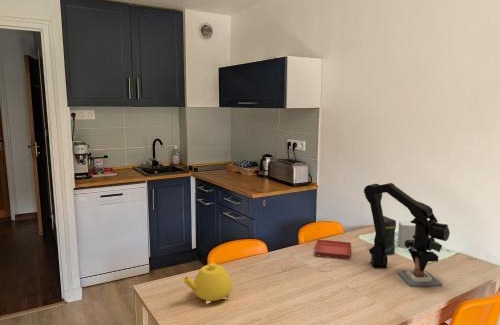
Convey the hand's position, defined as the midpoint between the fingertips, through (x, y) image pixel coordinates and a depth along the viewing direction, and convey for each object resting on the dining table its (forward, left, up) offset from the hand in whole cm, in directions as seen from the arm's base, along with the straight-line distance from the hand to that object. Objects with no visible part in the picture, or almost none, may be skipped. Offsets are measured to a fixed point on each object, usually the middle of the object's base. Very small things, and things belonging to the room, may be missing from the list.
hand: (419, 268), depth 167 cm
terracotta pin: (0, 0, -3) cm, 3 cm away
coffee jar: (-2, +32, -5) cm, 33 cm away
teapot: (-92, -12, -5) cm, 93 cm away
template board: (0, 0, -5) cm, 5 cm away
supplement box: (+13, +40, -5) cm, 43 cm away
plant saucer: (-29, +33, -6) cm, 45 cm away
